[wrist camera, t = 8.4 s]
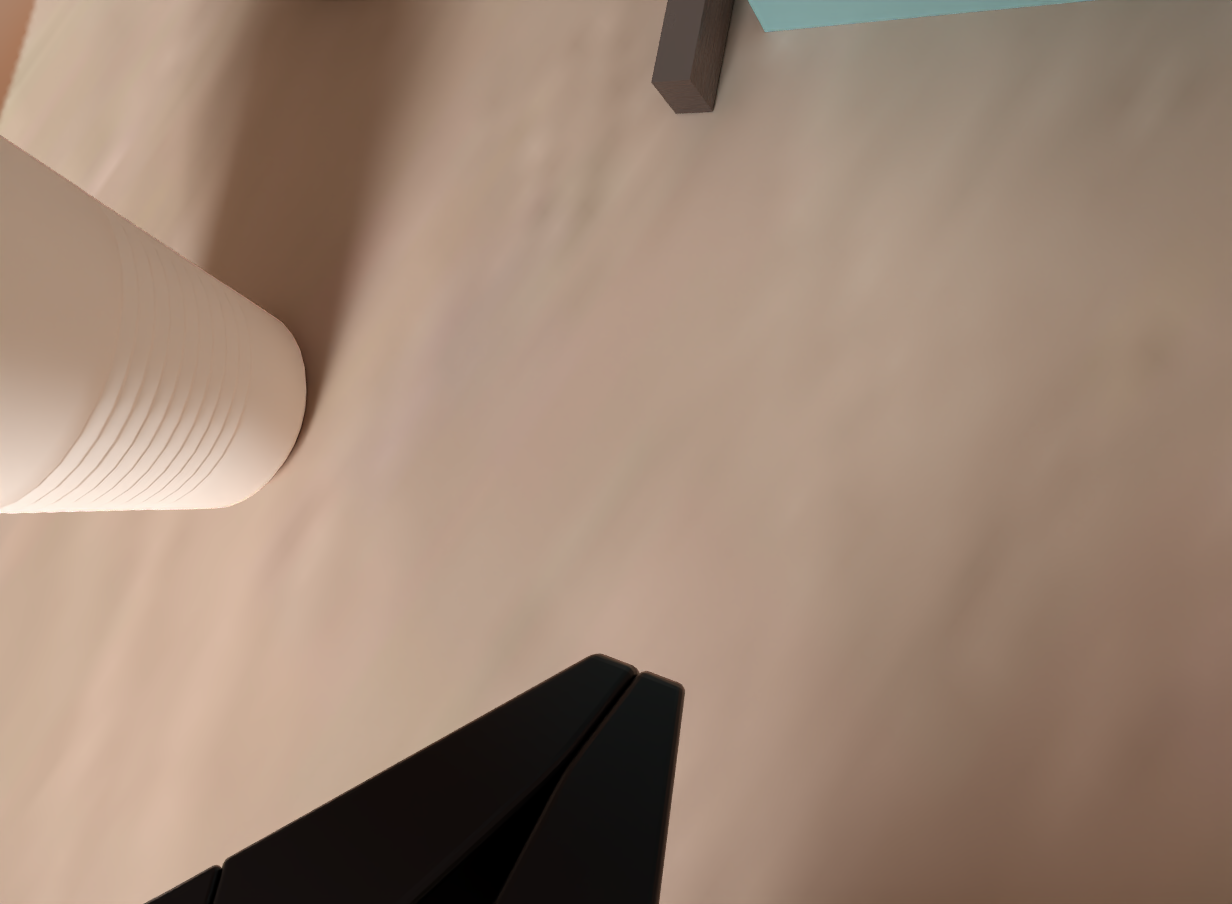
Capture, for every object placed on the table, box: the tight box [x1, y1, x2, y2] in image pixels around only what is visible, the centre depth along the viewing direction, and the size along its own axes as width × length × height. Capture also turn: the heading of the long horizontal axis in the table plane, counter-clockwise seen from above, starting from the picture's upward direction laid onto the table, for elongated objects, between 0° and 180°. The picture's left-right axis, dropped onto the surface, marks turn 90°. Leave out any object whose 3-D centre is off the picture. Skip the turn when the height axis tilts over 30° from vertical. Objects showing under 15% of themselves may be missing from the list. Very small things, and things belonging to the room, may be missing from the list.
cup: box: [0, 135, 307, 514], centre depth 24 cm, size 10×10×11 cm
